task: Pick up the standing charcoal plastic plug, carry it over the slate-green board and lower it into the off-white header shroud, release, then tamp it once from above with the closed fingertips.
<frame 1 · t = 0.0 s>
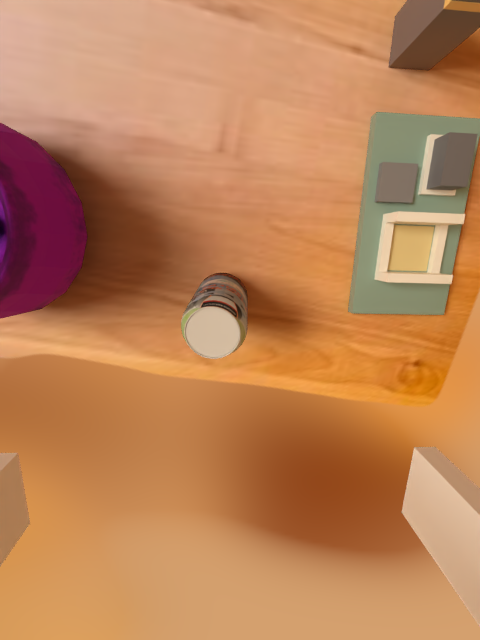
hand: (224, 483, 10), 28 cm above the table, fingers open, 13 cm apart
plug: (412, 43, 32), on the table
decorative plant: (15, 226, 34), on the table
board: (407, 223, 36), on the table
beverage can: (219, 300, 37), on the table
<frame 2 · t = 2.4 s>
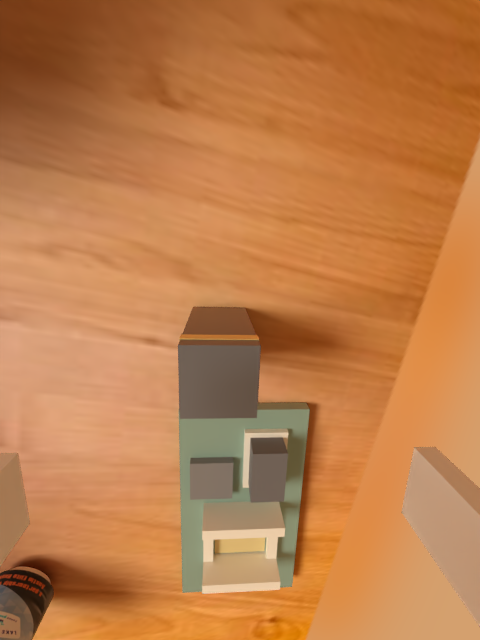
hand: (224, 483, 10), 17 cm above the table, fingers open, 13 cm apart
plug: (219, 332, 27), on the table
board: (240, 498, 31), on the table
beverage can: (28, 579, 32), on the table
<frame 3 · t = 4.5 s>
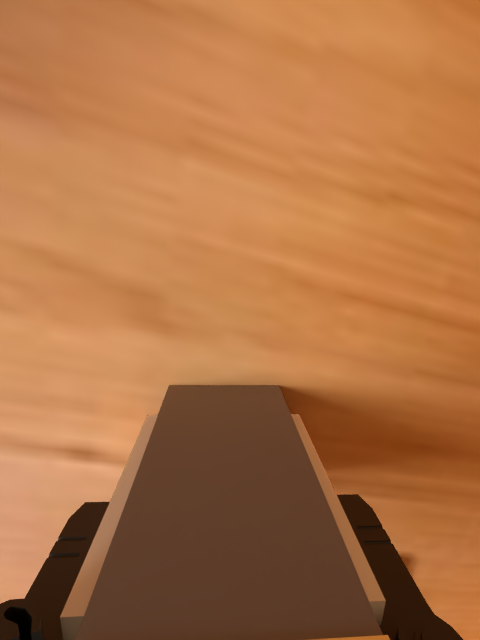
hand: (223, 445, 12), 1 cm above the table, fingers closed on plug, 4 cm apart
plug: (223, 434, 13), on the table, touching gripper
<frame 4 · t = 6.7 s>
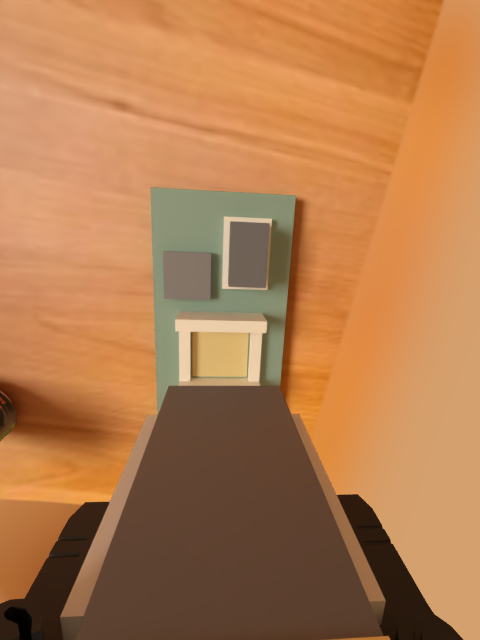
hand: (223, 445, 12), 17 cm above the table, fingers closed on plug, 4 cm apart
plug: (223, 434, 13), point 17 cm above the table, touching gripper
board: (221, 316, 29), on the table
when the fingers open (3 cm above the table, at t = 9.2 s): plug drops 1 cm, resting on board.
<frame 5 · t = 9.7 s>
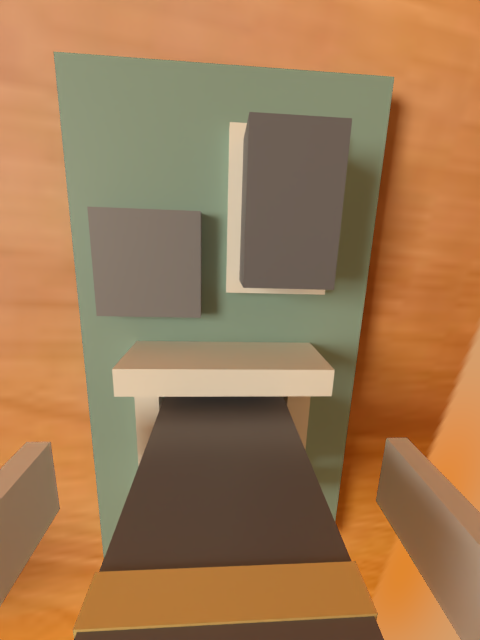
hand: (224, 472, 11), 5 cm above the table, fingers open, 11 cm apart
plug: (223, 420, 14), point 1 cm above the table, touching board
board: (224, 348, 14), on the table
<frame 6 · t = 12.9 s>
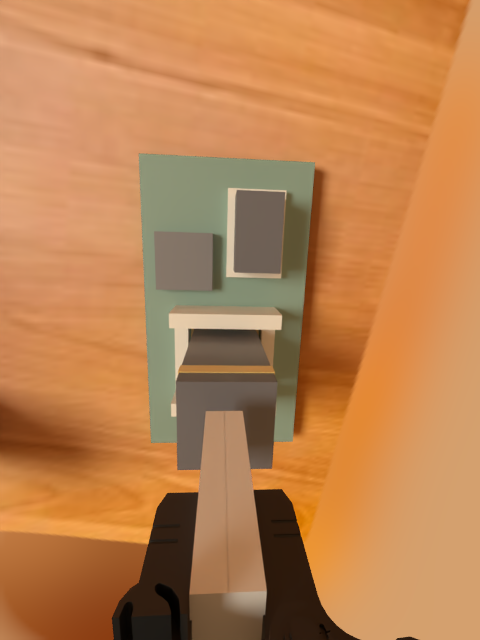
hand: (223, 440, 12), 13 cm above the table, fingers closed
plug: (224, 353, 23), point 1 cm above the table, touching board
board: (225, 312, 24), on the table
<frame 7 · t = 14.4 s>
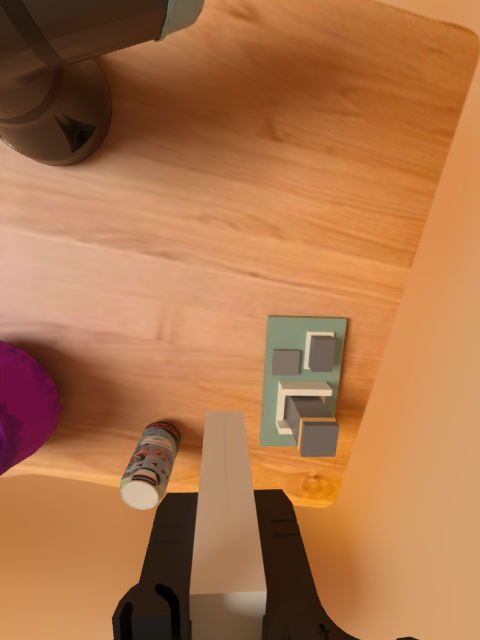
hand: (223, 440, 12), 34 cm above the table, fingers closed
plug: (300, 402, 48), point 1 cm above the table, touching board
decorative plant: (10, 389, 46), on the table
board: (299, 382, 49), on the table
beverage can: (161, 435, 50), on the table
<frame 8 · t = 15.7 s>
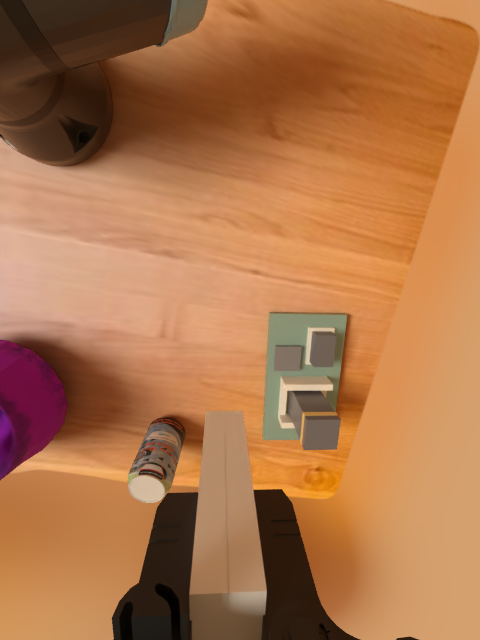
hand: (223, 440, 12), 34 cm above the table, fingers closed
plug: (302, 397, 49), point 1 cm above the table, touching board
decorative plant: (17, 387, 47), on the table
board: (301, 377, 50), on the table
beverage can: (166, 430, 51), on the table
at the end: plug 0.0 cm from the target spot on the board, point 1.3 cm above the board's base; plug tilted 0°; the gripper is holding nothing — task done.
